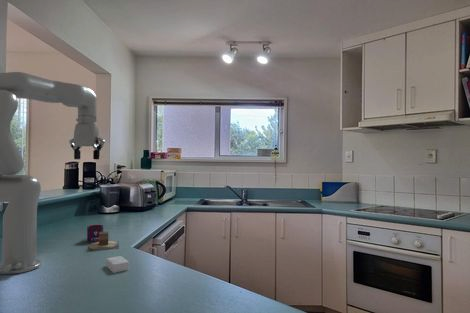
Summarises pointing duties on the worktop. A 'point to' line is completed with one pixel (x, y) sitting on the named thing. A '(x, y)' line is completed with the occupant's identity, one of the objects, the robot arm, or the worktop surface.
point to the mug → (94, 233)
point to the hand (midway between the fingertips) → (86, 159)
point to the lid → (103, 242)
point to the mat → (105, 249)
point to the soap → (117, 264)
